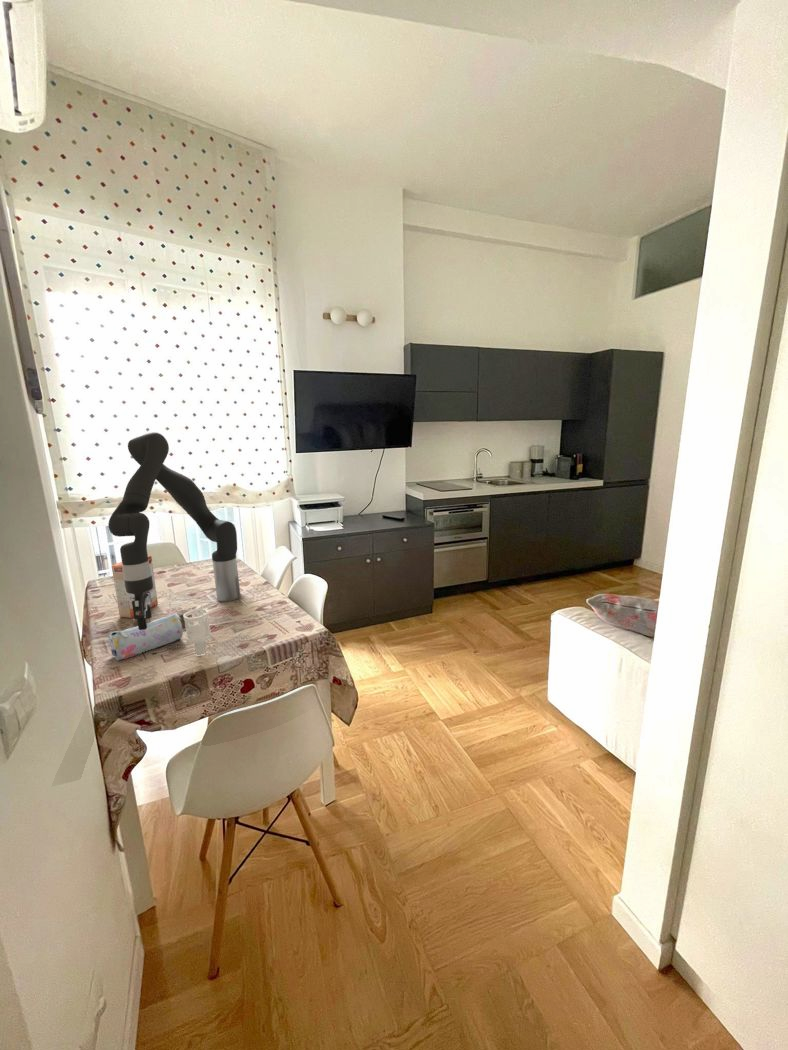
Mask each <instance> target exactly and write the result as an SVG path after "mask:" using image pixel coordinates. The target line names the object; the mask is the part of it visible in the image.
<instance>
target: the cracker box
mask: <svg viewBox="0 0 788 1050" xmlns="http://www.w3.org/2000/svg"><path fill="white" fill-rule="evenodd" d="M152 559H153V558H152V555H148V560H149V564H150V567H151V573H152V580H153V588H152V589H151V590H150V595H151V600H152V602H151V606H150V608H151V609H152V608H153V607H155V606H157V605H158V602H159V601H158V594H157V588H156V581H155V572H154V566H153V560H152ZM111 571H112V578H113V582H114V588H115V596H116V602H117V607H118V613H119V614H118V615H119V617H120V618H128V619H134V613H133V606H132V601H133V598H135V597H134V596H135V595H134V594H129V593H127V592H126V588H125V582H124V576H123V565H122V561H120V562H118V563H115V564H113V565H111ZM143 608H144V607H143ZM138 615H141V612H139V613H138Z"/></svg>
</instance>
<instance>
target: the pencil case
mask: <svg viewBox="0 0 788 1050" xmlns="http://www.w3.org/2000/svg"><path fill="white" fill-rule="evenodd" d="M179 619H180V620H181V618H180V617H179V616H178V615H177V613H172V614H171V615H169V616H168V615H167V616H163V617H160V618H157V619H155V620H152V621H151V622H149V623H147V628H146V629H144V630H139V628H138V626H137V627H134V626H133V627H130V628H125V629H123V630H120V631H119V630H117V631H115V630H114V631H112V632H110V633H109V634H108V635H107V636H108V637H107V638H108V643H109V646H110V649H111V654H112V656H113V657H116V658H115V660H116V661H120V660H126V659H129V658H128V657H130V658H132V657H131V656H133V657H135V656H137V654H138V655H141V654H143V653H145V651H146V652H148V650H149V651H152V650H154V649H157V648H160V647H162V646H165V645H168V644H171V643H173V642H176V641H178V640H180V639H182V638H183V634H184V633H183V631H184V630H183V627H182V624H181V622H180V620H179ZM151 649H152V650H151ZM142 652H143V653H142ZM134 655H135V656H134Z"/></svg>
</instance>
